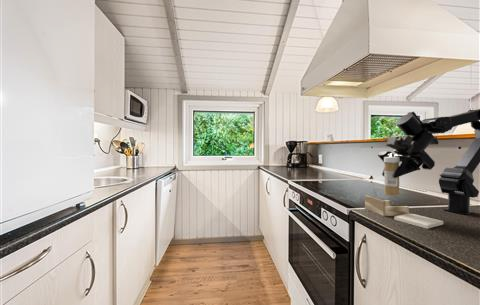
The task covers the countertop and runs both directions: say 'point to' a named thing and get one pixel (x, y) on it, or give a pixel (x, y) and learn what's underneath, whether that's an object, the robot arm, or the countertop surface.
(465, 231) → the countertop surface
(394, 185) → the sprinkles bottle
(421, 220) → the cream tile
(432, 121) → the robot arm
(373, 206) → the bottle holder
